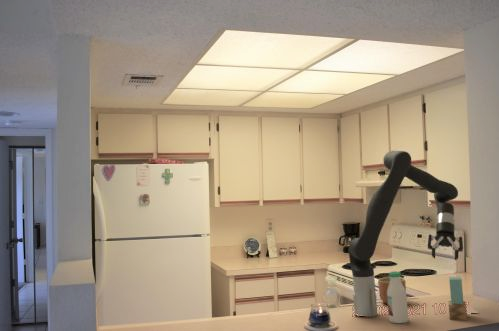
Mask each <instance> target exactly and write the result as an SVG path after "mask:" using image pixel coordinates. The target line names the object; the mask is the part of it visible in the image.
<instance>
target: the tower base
mask: <svg viewBox="0 0 499 331" xmlns="http://www.w3.org/2000/svg"><path fill="white" fill-rule="evenodd" d="M447 302H448V313H449V315H448V316H449V320H452V321H453V320H455V321H468V314H467V309H466V306H467V303H466V300H463V302H464V304H452V303H451V300H448V301H447Z"/></svg>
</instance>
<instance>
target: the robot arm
mask: <svg viewBox="0 0 499 331" xmlns="http://www.w3.org/2000/svg"><path fill="white" fill-rule="evenodd" d="M384 154H385V155H384V157H383V161H382V162H383V164H384V167H385V168H386V169H387V170H389V173H388V175H387V177H386V179H385V180H384V182H383V183H382V184H380V186H379V187H378V188H377V189H376V190H375V191H374V193H373V194H372V196H371V199H370V201H369V203H368V206H367V210H366V216H365V223H364V226H363V227H364V228H363V229H362V231H361V235H360V236H359V237H355V238H353V239H352V240H351V241H350V242H349V245H348V256H349V266H350V269H351V273H352V285H353V294H352V297H353V308H354V315H355V314H358V315H362V316H373V317H375V315H376V316H377V315H378V306H377V305H378V304H377V292H376V283H375V281H376V280H375V272H374V271H375V270H374V267H373V265H372V263H371V258H372V257H373V256H374V254H375V251H376V247H377V243H378V240H379V237H380V234H381V232H382V230H383V227H384V225H385V222H386V220H387V218H388V215H389V213H390V212H391V208H392V206H393V204H394V202H395V199H396V196H397V194H398V191H399V189H400V187H401V185H402V182H403V181H404V179H405V178H407V179H408V180H410V181H412V182H413V183H415V184H416V185H418V186H419V187H420V188H422V189H424V190H426V191H427V192H428V193H431V194H433V198H434V201H435V204H436V208H437V213H436V214H437V215H436V216H437V217H436V224H435V225H436V228H435V229H436V230H435V232H436V233H435V235H432V234H429V235H428V238H427V239H428V240H427V249H428V250H431V257H432V258H433V259H436V250H437V249H438V248H439V247H446V248H449V247H450V248H451V249H452V250H453V251H454V261H457V260H458V259H459V253H460V252H461V253H462V252H463V251H464V243H463V242H464V241H463V237H462V236H459V237H456V236H455V227H456V226H455V208H454V205H453V204H452V203H450V201H452V200H454V199H456V198H457V197H458V196H459V191H458V188H457V187H456V186H455V185H454V184H452V183H450V182H448V181H445V180H441V179H438V178H437V177H435V176H434V175H432V174H431V173H429V172H427V171H426V170H423V169H421V168H418V167H416V166H414V165H413V164H412V156H411V154H410V153H409V152H408V151H404V150H403V151H402V150H390V151H388V152H386V153H384ZM433 241H435V243H434V244H433V245H432V242H433ZM455 242H457V243H458V245H459V247H458V246H457V244H456V243H455Z"/></svg>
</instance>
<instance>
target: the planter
mask: <svg viewBox="0 0 499 331" xmlns="http://www.w3.org/2000/svg"><path fill="white" fill-rule="evenodd" d="M400 280H401V282H402V285H403V286H404V288H405V291H406V292H407V290H406V289H407V288H406V287H407V286H406V284H407V282H406V279H405V278H403V277H401V278H400ZM389 283H390V278H389V276H387V277H380V278H379V279H377V285H378V291H379V292H378V293H379V294H378V295H379V298H380V300H381V302H383V303H384V304H386V305H388V302H387V289H388V286H389Z"/></svg>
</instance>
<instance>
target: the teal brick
mask: <svg viewBox="0 0 499 331" xmlns="http://www.w3.org/2000/svg"><path fill="white" fill-rule="evenodd" d="M448 280H449V291H450V301H451V303H452V304H464V302H463V301H464V293H463V291H464V290H463V281H462V277H461V276H460V277H459V276H456V277H455V276H449V277H448Z"/></svg>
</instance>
